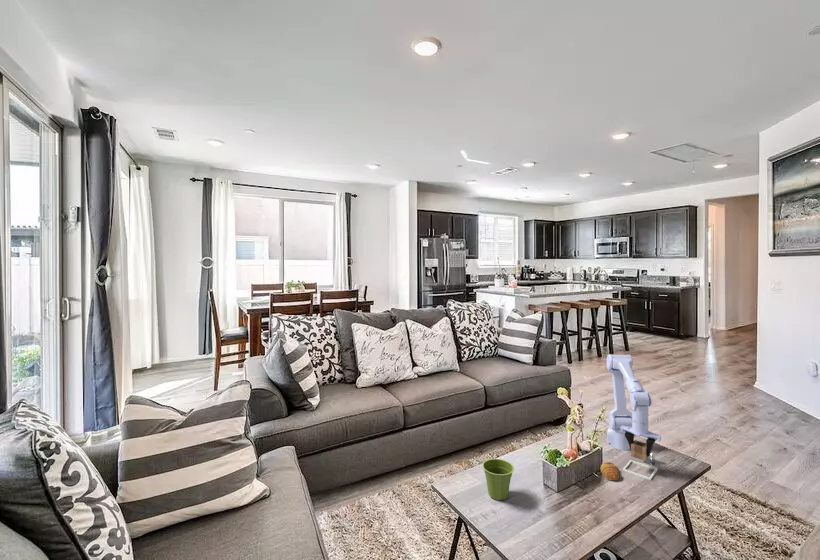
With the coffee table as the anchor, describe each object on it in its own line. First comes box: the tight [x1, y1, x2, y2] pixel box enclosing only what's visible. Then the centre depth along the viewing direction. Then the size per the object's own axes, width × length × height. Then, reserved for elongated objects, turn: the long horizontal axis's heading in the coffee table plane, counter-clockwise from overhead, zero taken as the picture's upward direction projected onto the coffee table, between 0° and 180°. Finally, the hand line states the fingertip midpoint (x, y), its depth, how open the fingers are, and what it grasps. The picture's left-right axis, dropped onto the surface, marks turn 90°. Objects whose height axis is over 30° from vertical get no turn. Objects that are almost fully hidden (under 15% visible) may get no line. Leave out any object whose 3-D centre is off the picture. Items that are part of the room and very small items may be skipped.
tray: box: [622, 459, 658, 481], centre depth 159 cm, size 10×10×2 cm
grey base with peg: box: [642, 451, 663, 468], centre depth 164 cm, size 6×6×5 cm
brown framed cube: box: [630, 439, 650, 461], centre depth 158 cm, size 5×5×5 cm
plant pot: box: [481, 458, 515, 501], centre depth 146 cm, size 12×12×11 cm
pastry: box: [599, 461, 620, 481], centre depth 157 cm, size 9×7×4 cm
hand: (640, 452), depth 158 cm, fingers closed on brown framed cube, 5 cm apart
